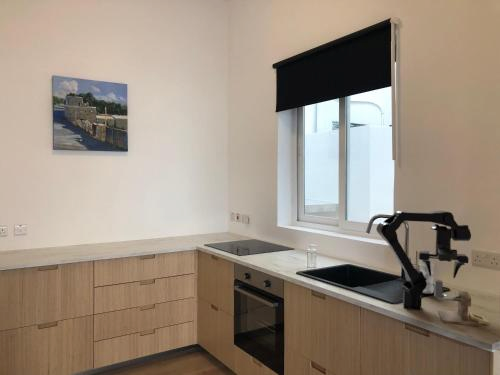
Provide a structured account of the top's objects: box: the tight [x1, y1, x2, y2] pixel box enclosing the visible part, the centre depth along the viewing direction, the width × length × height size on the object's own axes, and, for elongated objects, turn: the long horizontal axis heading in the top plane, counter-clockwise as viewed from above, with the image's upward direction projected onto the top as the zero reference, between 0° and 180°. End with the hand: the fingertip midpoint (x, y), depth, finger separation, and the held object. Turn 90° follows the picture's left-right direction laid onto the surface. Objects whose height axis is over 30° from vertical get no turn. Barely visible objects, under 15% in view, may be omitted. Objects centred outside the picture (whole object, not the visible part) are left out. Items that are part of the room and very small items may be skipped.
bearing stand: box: [437, 290, 481, 327], centre depth 160 cm, size 13×12×10 cm
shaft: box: [433, 278, 461, 302], centre depth 161 cm, size 10×3×8 cm, turn 72°
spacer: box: [468, 311, 489, 325], centre depth 159 cm, size 1×6×6 cm
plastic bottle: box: [418, 250, 435, 295], centre depth 194 cm, size 6×7×20 cm
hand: (442, 277), depth 174 cm, fingers open, 9 cm apart
